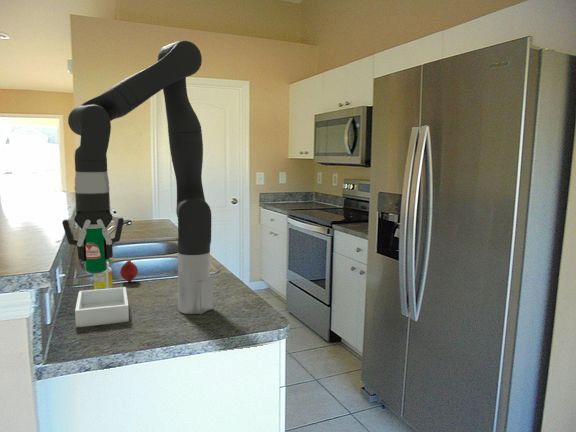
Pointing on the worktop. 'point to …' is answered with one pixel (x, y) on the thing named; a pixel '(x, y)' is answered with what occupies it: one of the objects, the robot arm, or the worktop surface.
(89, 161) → the robot arm
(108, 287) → the supplement bottle
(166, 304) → the worktop surface
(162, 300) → the worktop surface
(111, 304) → the tote
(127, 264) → the onion
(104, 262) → the soda can
